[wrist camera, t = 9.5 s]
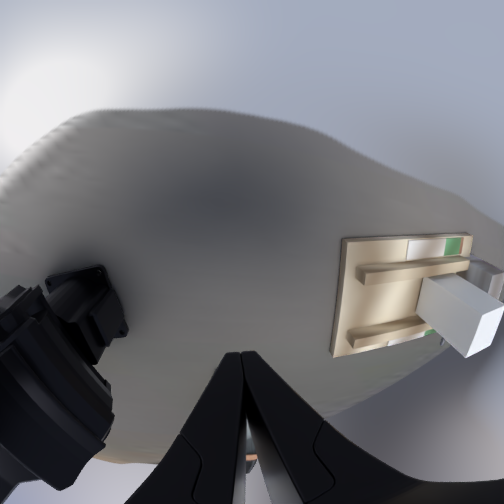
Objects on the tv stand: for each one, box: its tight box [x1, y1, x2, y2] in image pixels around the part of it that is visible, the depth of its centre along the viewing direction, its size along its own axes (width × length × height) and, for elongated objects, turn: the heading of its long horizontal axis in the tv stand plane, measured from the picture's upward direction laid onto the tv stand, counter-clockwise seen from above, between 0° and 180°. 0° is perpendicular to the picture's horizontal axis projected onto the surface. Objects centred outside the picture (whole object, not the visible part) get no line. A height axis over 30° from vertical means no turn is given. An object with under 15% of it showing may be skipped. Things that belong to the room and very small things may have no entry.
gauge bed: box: [330, 233, 504, 358], centre depth 21 cm, size 17×11×6 cm, turn 92°
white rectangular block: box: [415, 273, 504, 358], centre depth 19 cm, size 4×8×8 cm, turn 2°
